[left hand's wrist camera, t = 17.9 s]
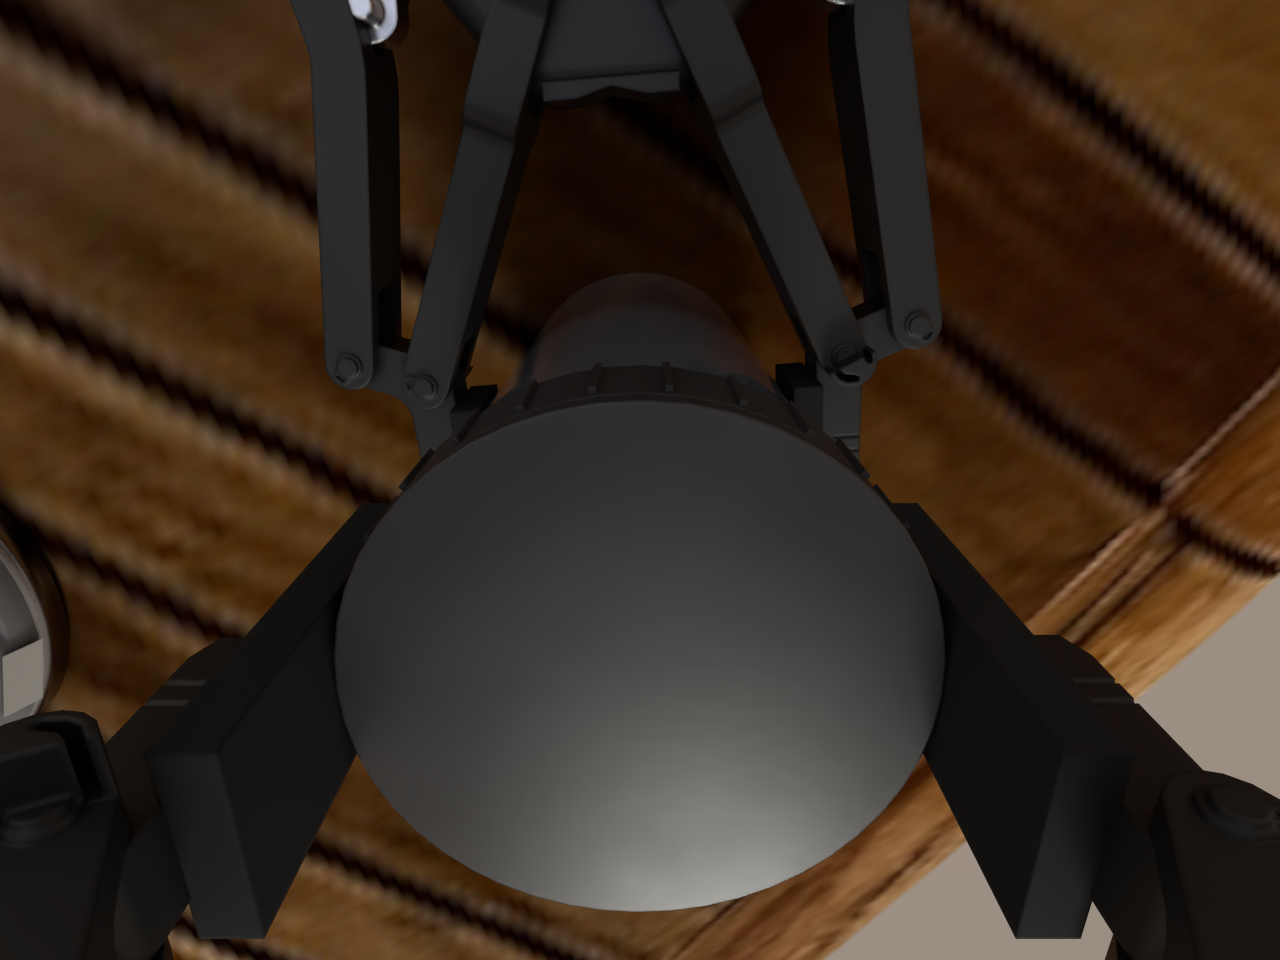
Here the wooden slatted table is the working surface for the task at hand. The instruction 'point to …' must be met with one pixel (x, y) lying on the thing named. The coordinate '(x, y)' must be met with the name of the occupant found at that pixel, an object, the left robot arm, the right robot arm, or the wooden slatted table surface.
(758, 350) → the wooden slatted table surface
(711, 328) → the jar
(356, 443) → the wooden slatted table surface
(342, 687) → the lid
